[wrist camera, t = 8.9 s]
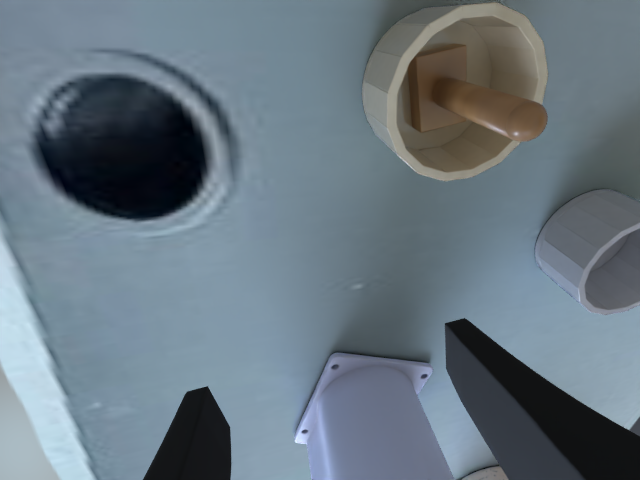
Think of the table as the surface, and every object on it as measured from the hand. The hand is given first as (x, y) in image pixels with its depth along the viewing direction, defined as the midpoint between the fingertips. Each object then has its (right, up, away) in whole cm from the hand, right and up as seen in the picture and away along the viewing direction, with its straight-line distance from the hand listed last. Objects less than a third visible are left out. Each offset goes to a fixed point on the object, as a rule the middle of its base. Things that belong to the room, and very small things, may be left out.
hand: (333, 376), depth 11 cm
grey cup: (+16, +4, +13) cm, 21 cm away
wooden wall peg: (+5, +11, +6) cm, 13 cm away
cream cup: (+5, +11, +6) cm, 14 cm away
